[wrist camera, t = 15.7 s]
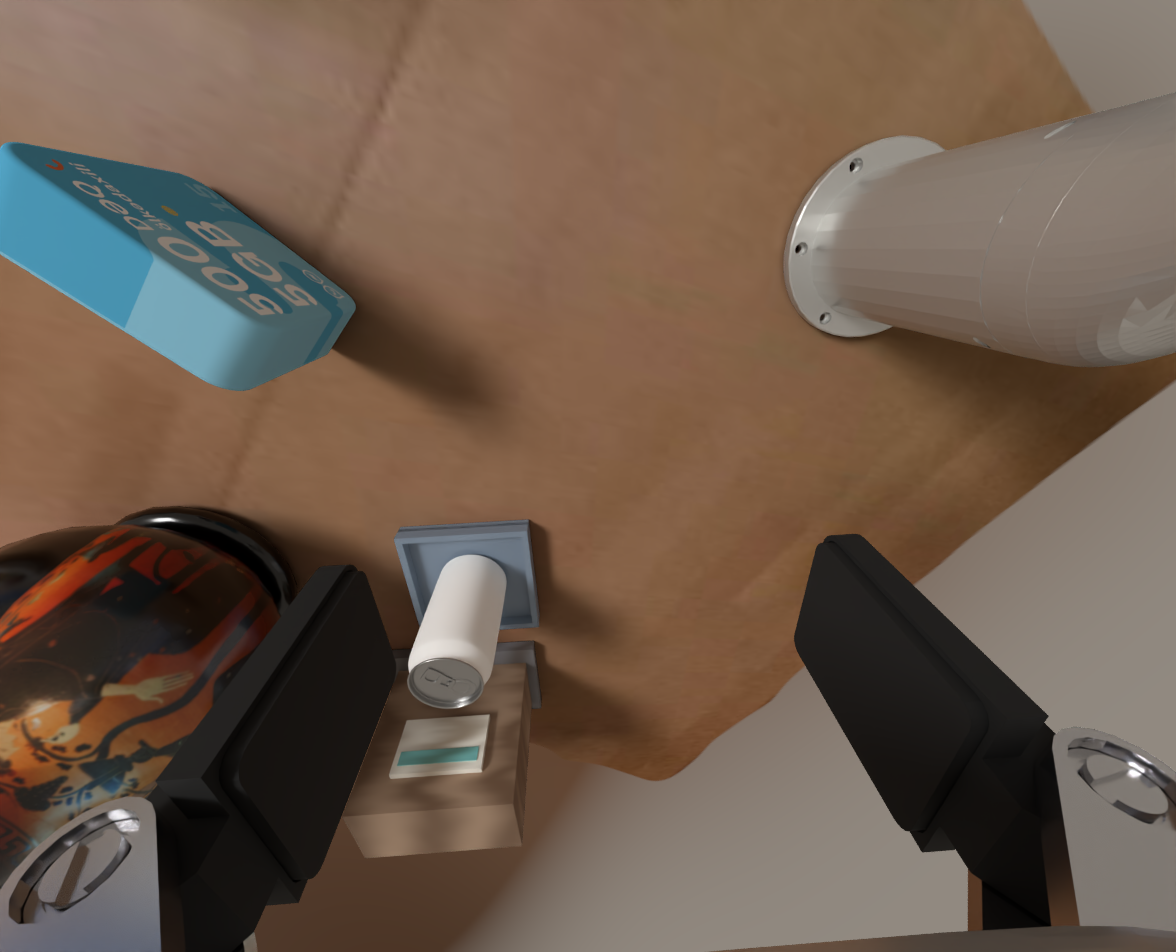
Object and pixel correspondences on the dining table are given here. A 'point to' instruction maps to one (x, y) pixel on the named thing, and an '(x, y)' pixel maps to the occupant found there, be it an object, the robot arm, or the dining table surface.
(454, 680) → the can
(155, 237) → the data package
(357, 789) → the block
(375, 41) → the dining table surface
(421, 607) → the tray
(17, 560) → the amphora vase
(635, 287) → the dining table surface
